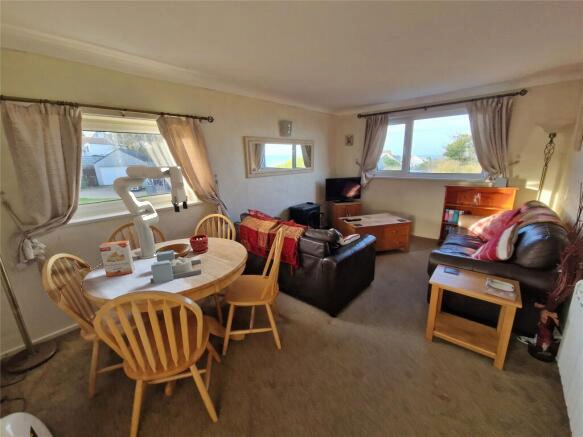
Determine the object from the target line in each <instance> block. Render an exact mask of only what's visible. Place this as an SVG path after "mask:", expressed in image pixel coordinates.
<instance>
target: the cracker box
mask: <svg viewBox="0 0 583 437" xmlns="http://www.w3.org/2000/svg"><path fill="white" fill-rule="evenodd" d="M98 247H99V251H100V255H101V259H102V263H103V264H102V265H103V268H104V271H105V275H106V277H107V278H108V277H114V276H120V275H121V276H122V275H128V274H132V273H134V271H135V264H134V259H133V255H132V251H131V245H130V240H128V239H127V240H121V241H120V240H119V241H110V242H103V243H101V244H100V245H99V246H98Z"/></svg>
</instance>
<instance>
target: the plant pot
mask: <svg viewBox="0 0 583 437" xmlns="http://www.w3.org/2000/svg"><path fill="white" fill-rule="evenodd" d="M189 245H190V247H191V249H192V253H194V254H204V253H206V252H207V251H208V250H209V237H208V235H207V234H197V235H193V236H190V237H189Z"/></svg>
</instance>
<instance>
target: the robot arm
mask: <svg viewBox="0 0 583 437" xmlns="http://www.w3.org/2000/svg"><path fill="white" fill-rule="evenodd" d="M125 173H126V175H127V176H120V177H117V178H116V179H114V180H113V181H112V182H113V183H112V184H113V185H112V186H113V187H112V188H113V190H114V191H115V193H116V194H117V195H118V197H119V198H120V199H121V201H122V203H123V204H124V206H125V207H126V209H127V211H128V212H129V213H130V215H136V217H134V218H133V221H132V223H133V225H134V229H135V230H136V234H137V238H138V243H139V247H140V248H139V249H140V250H139V251H134V255H136V256H138V255H139V258H140V259H143V260H145V259H153V258H155V257H157V256H156V255H155V252H156V251H157V249H156V244H155V239H154V238H155V237H154V233H153V231H152V229H151V228H150V227H151V226H153V225H156V224H158V223H159V221H160V217H159V214H158V212H157V210H156V209H155V208H154V206H153V204H152V202H150V201H149V200H148V199H138V198H137V196H136V195H135V194H134V192H132V191H131V190H130V189H135V188H139V187H141V186H142V185H143V184H144V182H146V180H147V179H150V180H151V179H153V180H155V179H158V180H160V179H169V180H170V185H171V188H170V189H171V190H170V196H171V201H170V202H171V204H172V207H173V208H174V209H173V210H174V212H175V213H181V211H180V210H181V209H180V206H179V205H180V203H181V204H182V208H183V210H188V209H189V207H188V195H186V190H185V185H184V184H185V183H184V177H183V173H182V167H181V166H177V165H176V166H175V165H171V166H170V165H168V166H167V165H164V166H150V165H144V164H132V165H128V166H127V167H126V169H125Z"/></svg>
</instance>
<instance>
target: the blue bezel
mask: <svg viewBox="0 0 583 437" xmlns="http://www.w3.org/2000/svg"><path fill="white" fill-rule="evenodd" d="M155 257H156V260H157V261H155V262H153V263H152V264H151V265H150V268H151V273H152V278H153V279H154V283H153V284H161V283H166V282H171V281H174V279H173V273H172V267H171V262H169V261H171V260H174V259H176V258H175V251H174V249H173V250H172V249H171V250H165V251H158V252H157V253H156V256H155Z"/></svg>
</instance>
